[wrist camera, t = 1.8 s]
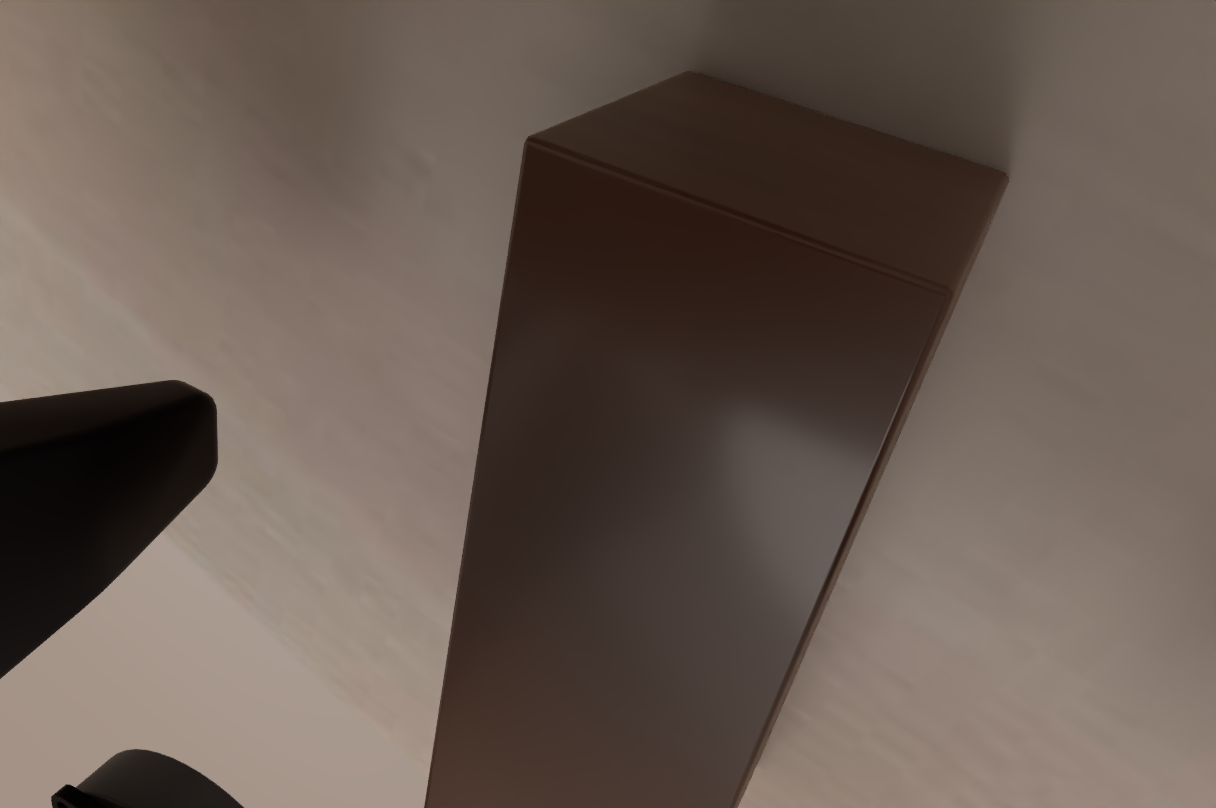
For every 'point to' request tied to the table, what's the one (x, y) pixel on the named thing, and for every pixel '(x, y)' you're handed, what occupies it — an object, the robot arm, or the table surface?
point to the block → (684, 434)
